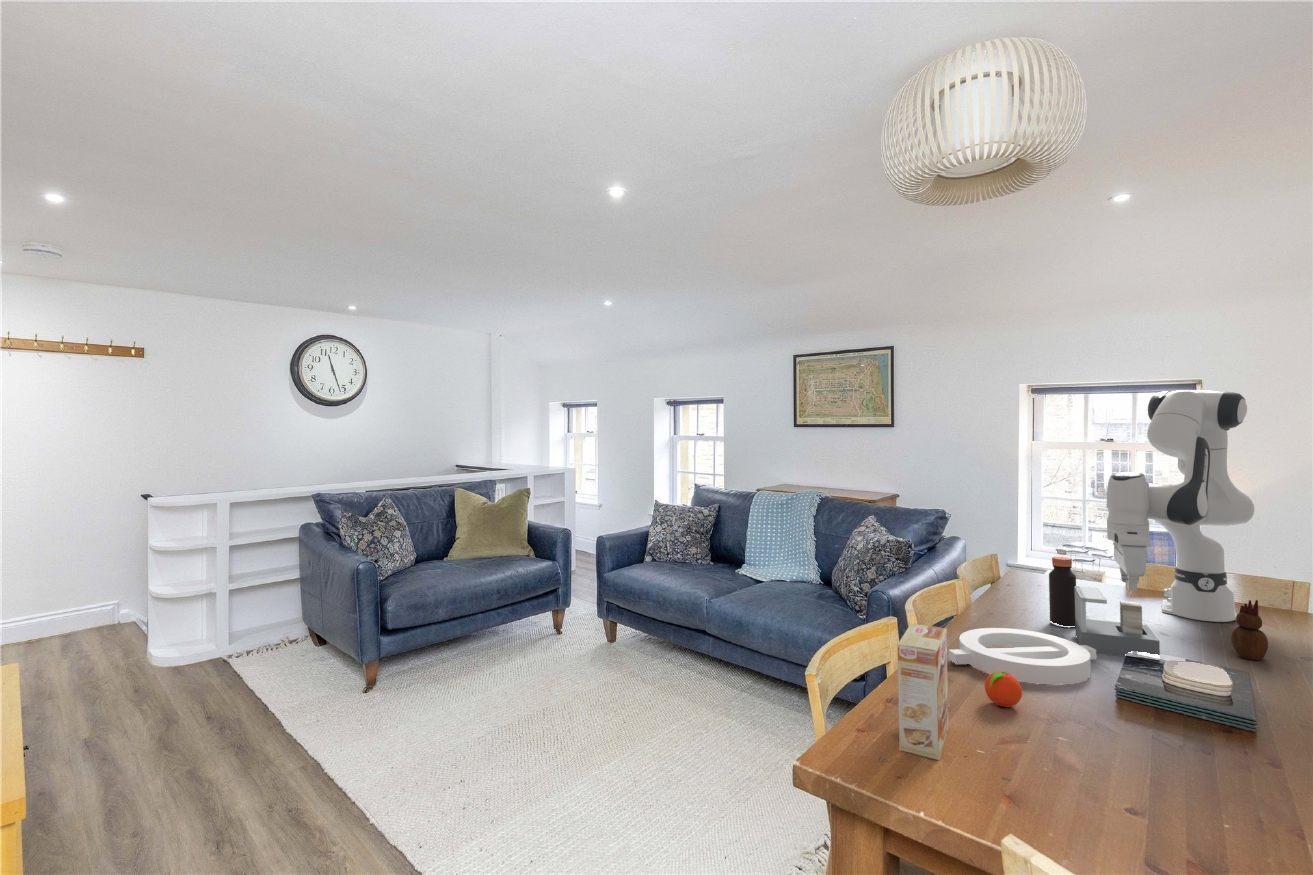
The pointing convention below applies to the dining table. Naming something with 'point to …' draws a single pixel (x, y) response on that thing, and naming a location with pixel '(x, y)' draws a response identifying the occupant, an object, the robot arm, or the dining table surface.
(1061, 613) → the bottle
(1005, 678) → the clementine
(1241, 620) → the wooden figurine
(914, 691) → the coffeecake box
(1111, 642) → the socket block
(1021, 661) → the ring with crossbar
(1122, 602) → the peg
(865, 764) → the dining table surface
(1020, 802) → the dining table surface
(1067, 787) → the dining table surface
